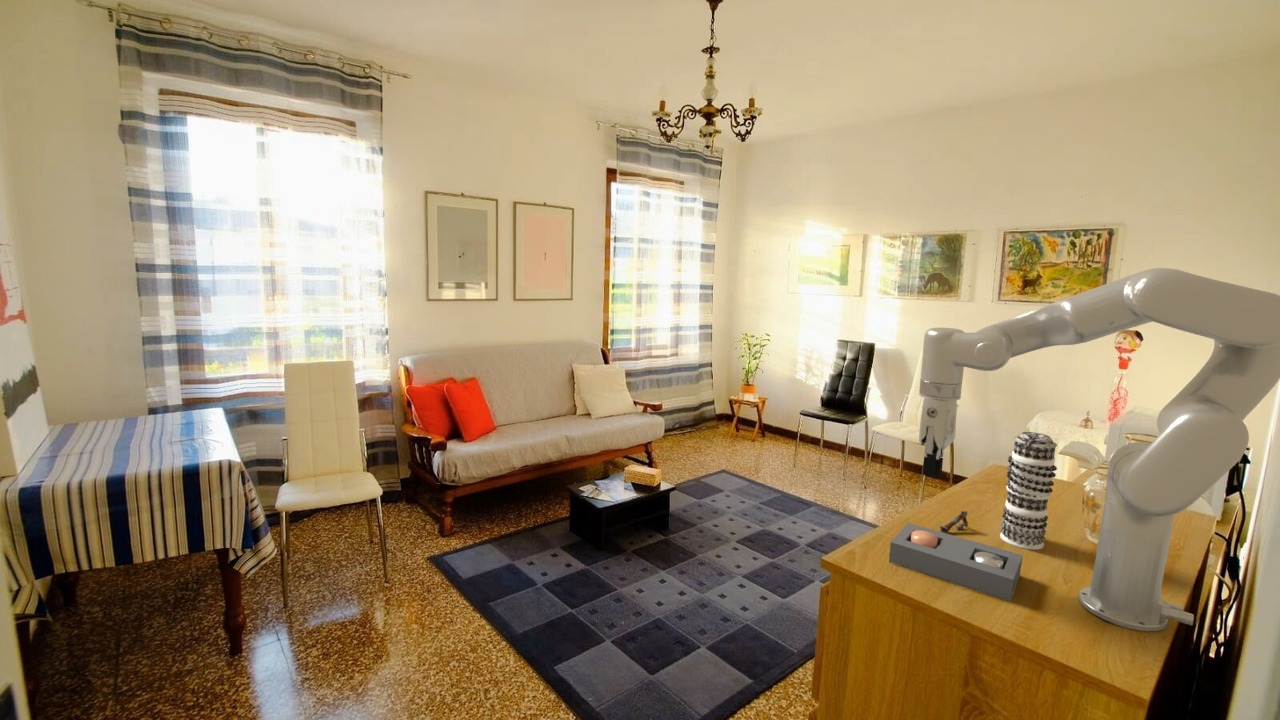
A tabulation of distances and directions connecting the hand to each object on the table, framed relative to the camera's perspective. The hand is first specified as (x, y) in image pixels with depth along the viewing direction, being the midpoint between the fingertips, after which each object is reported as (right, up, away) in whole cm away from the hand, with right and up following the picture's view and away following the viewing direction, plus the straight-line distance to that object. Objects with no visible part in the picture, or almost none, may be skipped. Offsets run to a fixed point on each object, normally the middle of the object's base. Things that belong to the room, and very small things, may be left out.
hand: (931, 475), depth 122 cm
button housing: (+4, -19, 0) cm, 20 cm away
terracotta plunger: (0, -17, +3) cm, 17 cm away
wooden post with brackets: (+14, -17, +17) cm, 27 cm away
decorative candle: (+26, -17, +12) cm, 34 cm away
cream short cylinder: (+9, -19, -4) cm, 22 cm away
